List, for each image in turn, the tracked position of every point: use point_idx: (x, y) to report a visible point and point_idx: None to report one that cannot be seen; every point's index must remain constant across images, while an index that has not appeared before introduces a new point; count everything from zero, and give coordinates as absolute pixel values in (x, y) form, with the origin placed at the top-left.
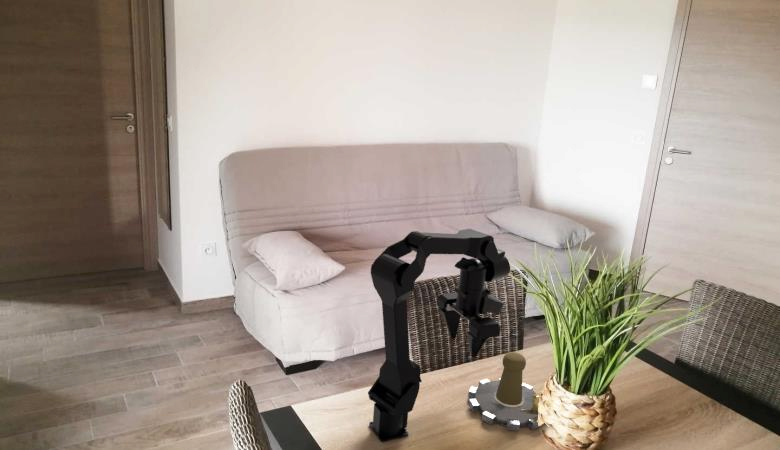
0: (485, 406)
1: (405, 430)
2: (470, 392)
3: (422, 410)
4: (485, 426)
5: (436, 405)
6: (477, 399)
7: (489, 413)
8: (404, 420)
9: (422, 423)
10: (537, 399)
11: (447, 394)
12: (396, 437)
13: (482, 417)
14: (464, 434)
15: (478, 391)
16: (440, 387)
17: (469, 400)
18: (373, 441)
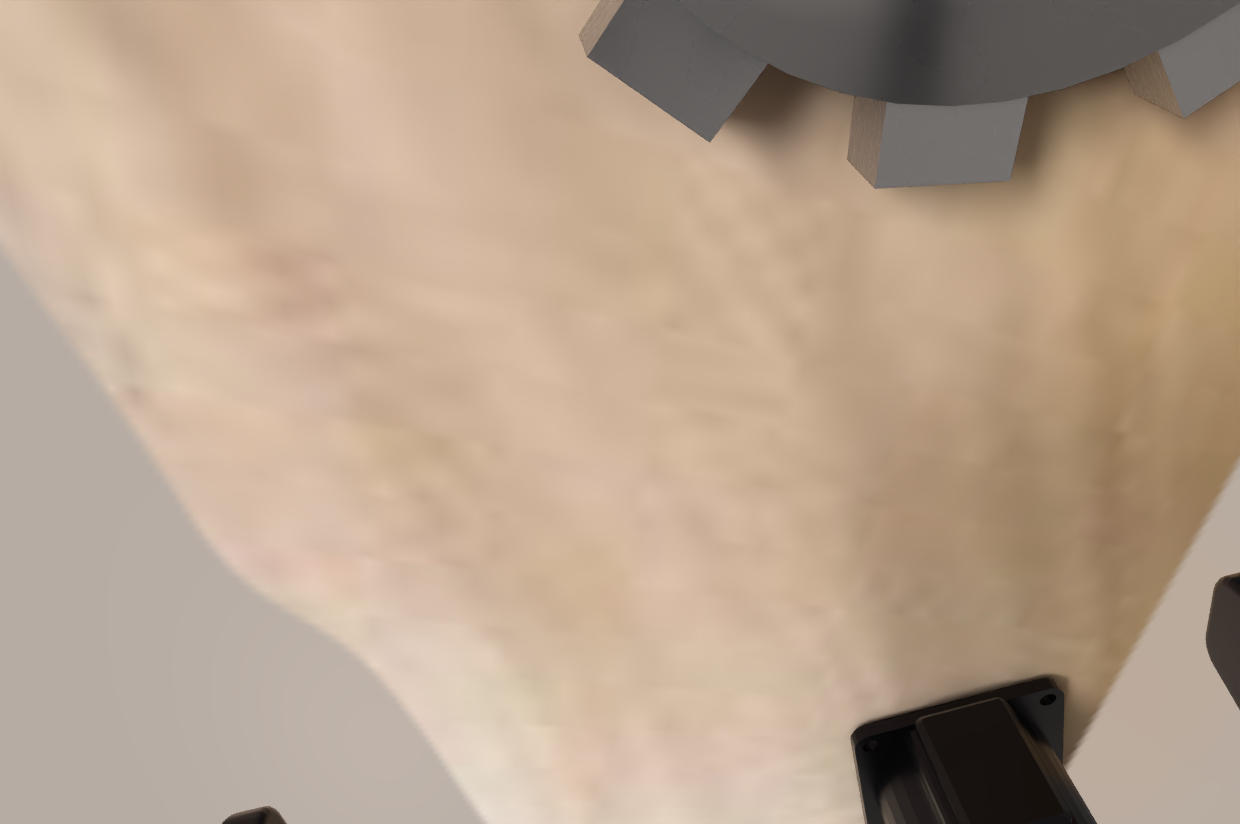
0: (1098, 37)
1: (1024, 701)
2: (721, 116)
3: (792, 560)
4: None
5: (744, 448)
6: (927, 92)
7: (1224, 29)
8: (1051, 775)
9: (953, 581)
10: None
11: (569, 311)
12: (1060, 741)
13: (1156, 98)
14: (1210, 312)
15: (758, 11)
16: (426, 352)
17: (882, 183)
18: None
